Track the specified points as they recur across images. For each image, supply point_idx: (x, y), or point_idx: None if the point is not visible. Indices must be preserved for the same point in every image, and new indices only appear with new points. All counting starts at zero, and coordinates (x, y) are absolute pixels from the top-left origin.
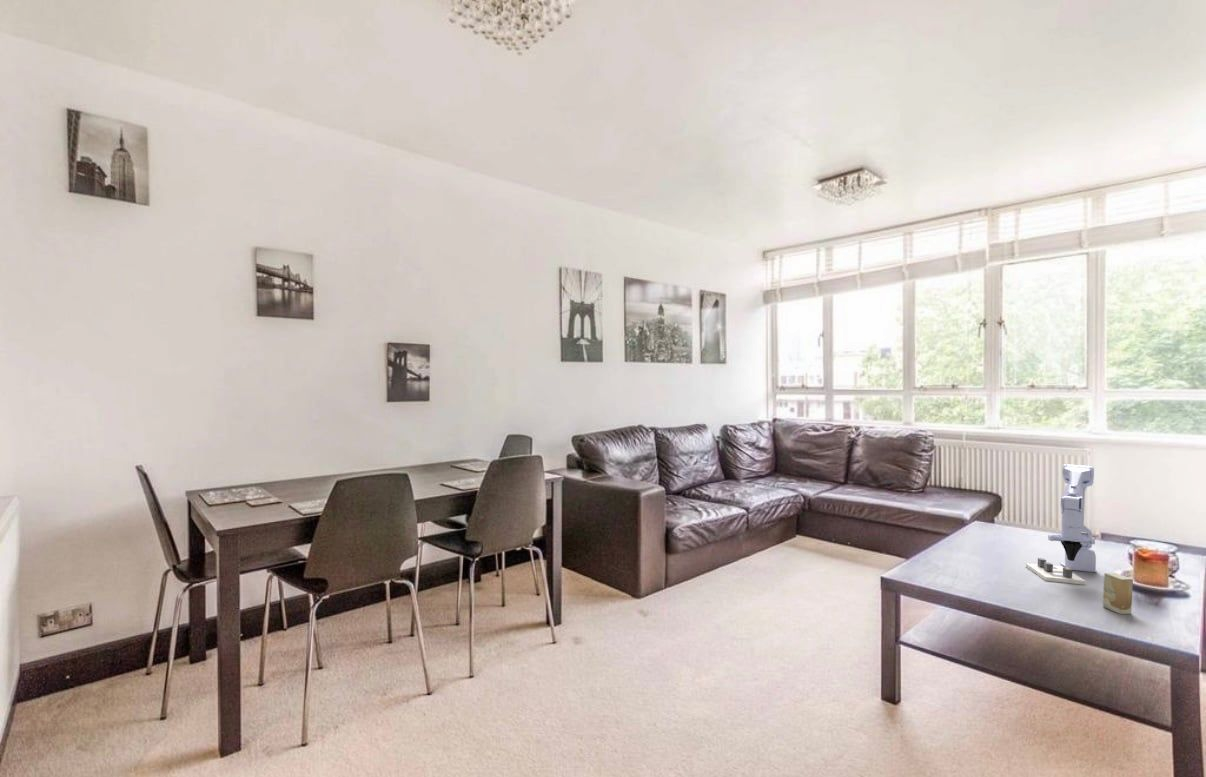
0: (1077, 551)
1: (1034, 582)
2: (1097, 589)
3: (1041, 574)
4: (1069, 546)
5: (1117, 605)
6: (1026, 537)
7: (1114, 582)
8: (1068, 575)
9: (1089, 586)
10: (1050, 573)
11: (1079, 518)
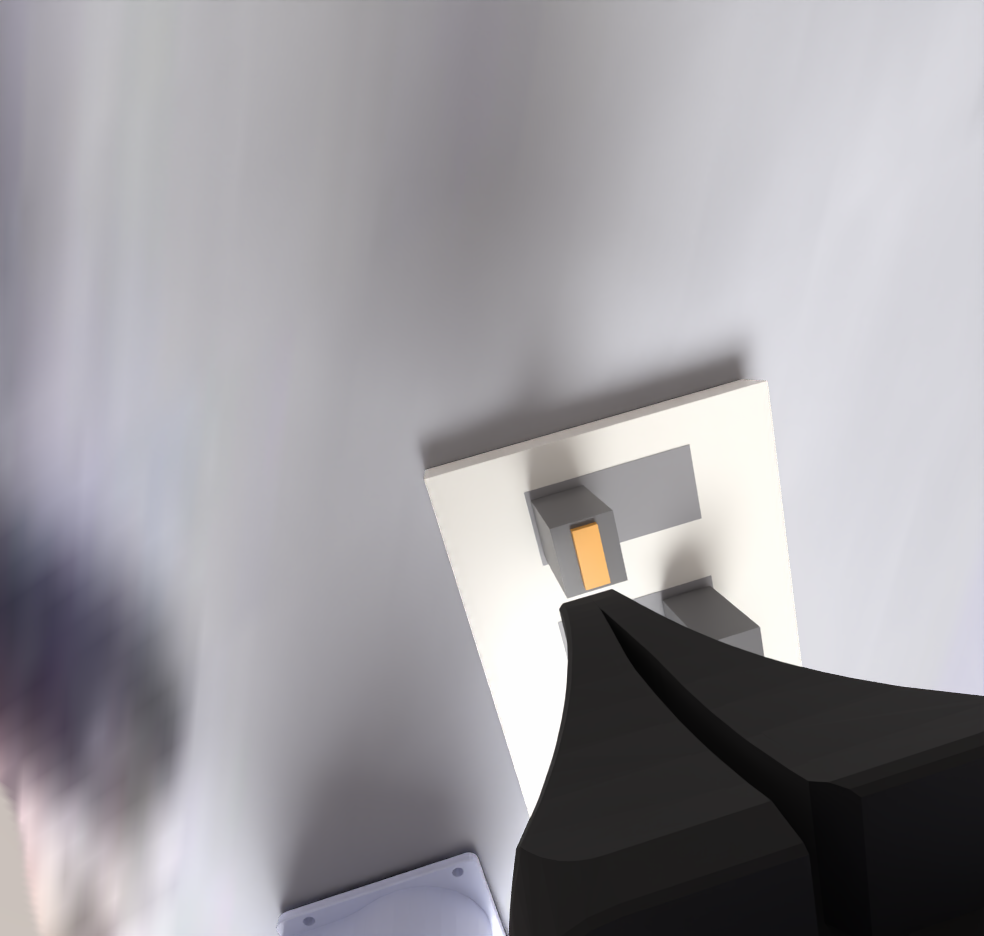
0: (575, 717)
1: (853, 251)
2: (340, 366)
3: (775, 463)
4: (896, 711)
5: None
6: None
7: None
8: (567, 495)
9: (396, 430)
10: (689, 543)
11: None
